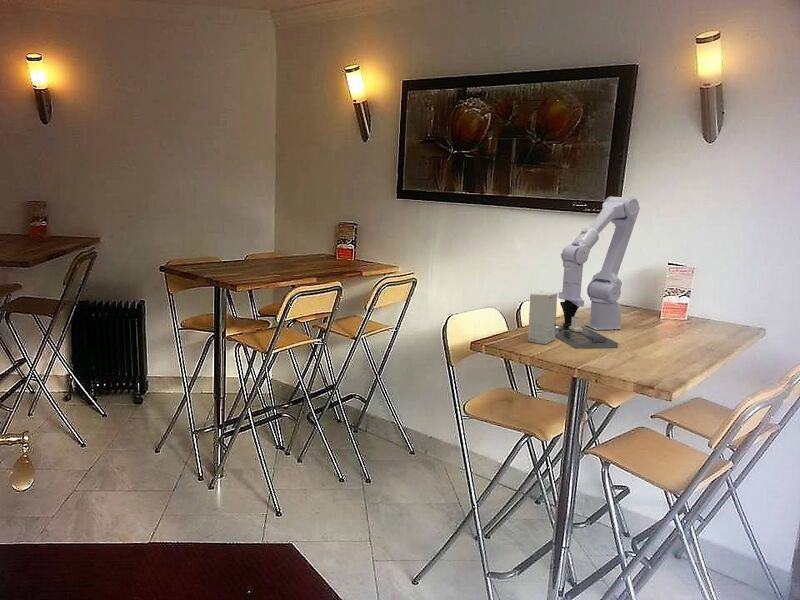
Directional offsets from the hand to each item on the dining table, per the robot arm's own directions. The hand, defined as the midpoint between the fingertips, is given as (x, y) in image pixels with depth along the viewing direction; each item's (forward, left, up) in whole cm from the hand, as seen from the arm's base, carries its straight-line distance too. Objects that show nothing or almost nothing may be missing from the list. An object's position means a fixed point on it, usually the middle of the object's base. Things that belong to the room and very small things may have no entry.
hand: (568, 324), depth 193 cm
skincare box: (+14, +11, -3) cm, 18 cm away
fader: (0, +5, -1) cm, 5 cm away
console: (+1, +10, -3) cm, 10 cm away
